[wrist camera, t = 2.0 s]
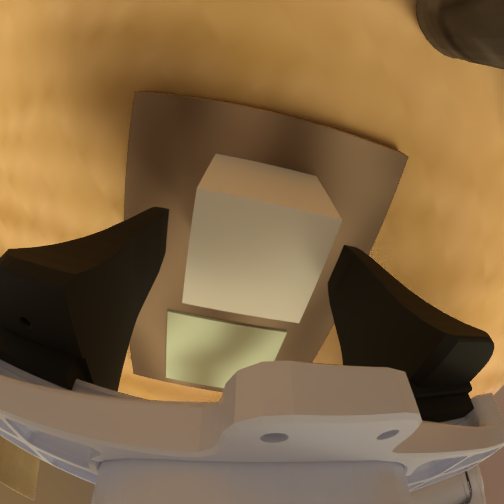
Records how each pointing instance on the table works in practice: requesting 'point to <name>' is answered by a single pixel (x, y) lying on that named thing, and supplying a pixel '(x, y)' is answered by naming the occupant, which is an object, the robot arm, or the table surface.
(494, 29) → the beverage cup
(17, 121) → the table surface
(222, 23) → the table surface
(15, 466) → the plant pot
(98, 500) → the robot arm
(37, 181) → the table surface
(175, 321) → the post board
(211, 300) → the beige stacked cube
